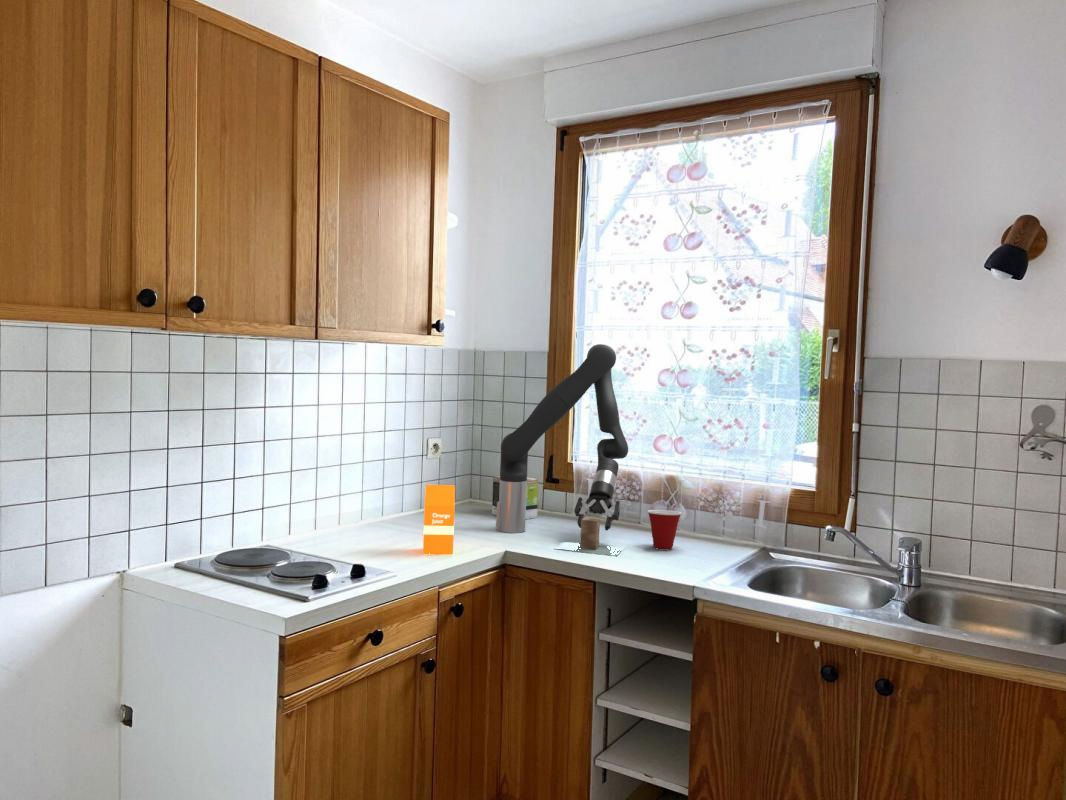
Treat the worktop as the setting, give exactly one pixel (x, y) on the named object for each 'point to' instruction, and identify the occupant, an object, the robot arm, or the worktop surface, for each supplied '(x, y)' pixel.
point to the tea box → (530, 496)
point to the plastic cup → (663, 527)
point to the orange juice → (439, 519)
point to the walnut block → (590, 533)
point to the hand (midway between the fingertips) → (593, 527)
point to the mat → (598, 550)
